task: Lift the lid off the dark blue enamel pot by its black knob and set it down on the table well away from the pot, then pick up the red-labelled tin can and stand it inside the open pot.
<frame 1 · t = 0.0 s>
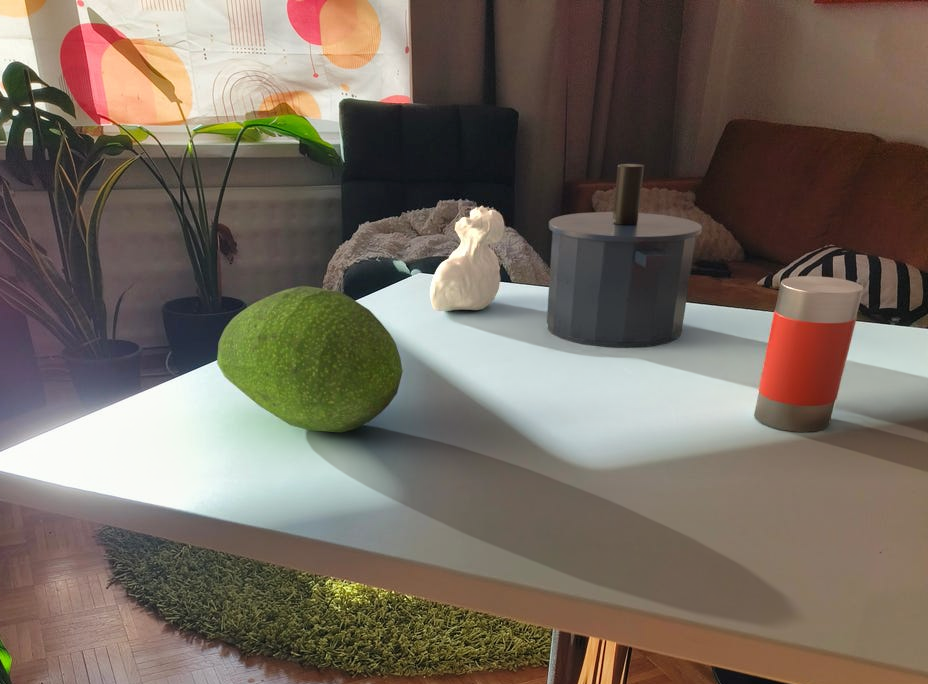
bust: (469, 309, 99), on the table
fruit: (310, 425, 68), on the table
can: (791, 419, 69), on the table
pot: (613, 328, 92), on the table
lid: (624, 229, 86), point 9 cm above the table, touching pot
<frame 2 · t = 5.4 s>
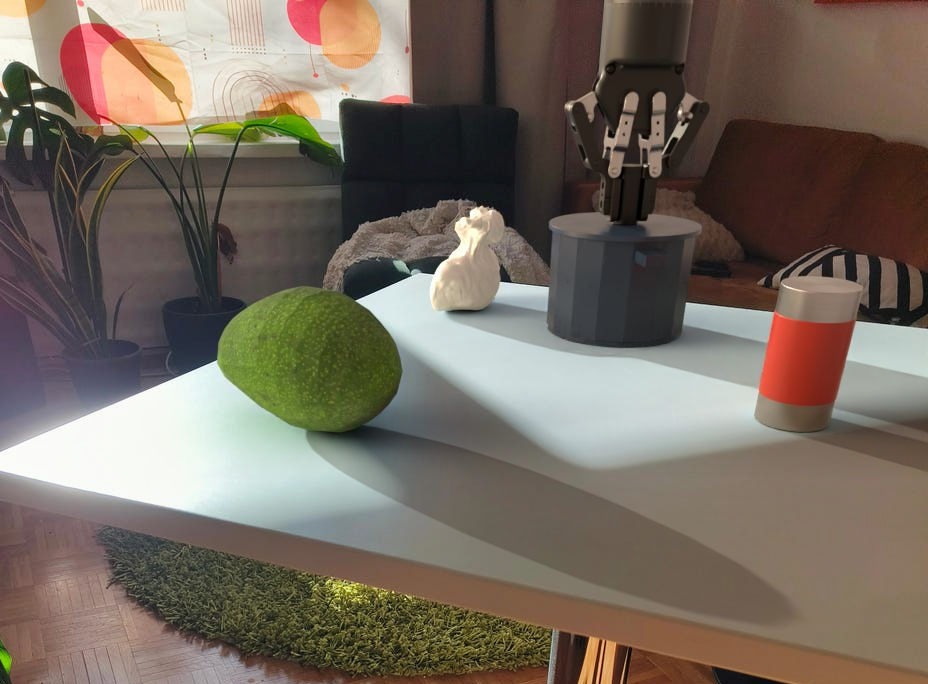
hand: (625, 219, 86), 10 cm above the table, tool pointing down, fingers closed on lid, 2 cm apart
lid: (624, 229, 86), point 9 cm above the table, touching gripper, pot
everything else where it was.
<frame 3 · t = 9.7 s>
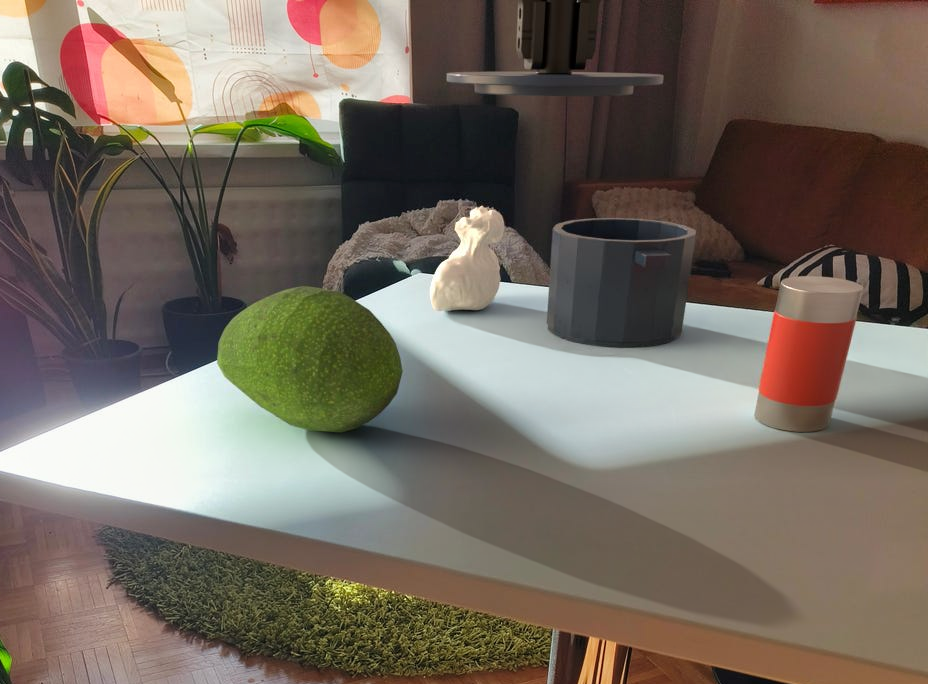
hand: (555, 67, 60), 23 cm above the table, tool pointing down, fingers closed on lid, 2 cm apart
lid: (553, 82, 61), point 22 cm above the table, touching gripper
everything else where it was.
when the fingers open (1 cm above the table, at t = 14.5 s): lid stays where it is, point 1 cm above the table.
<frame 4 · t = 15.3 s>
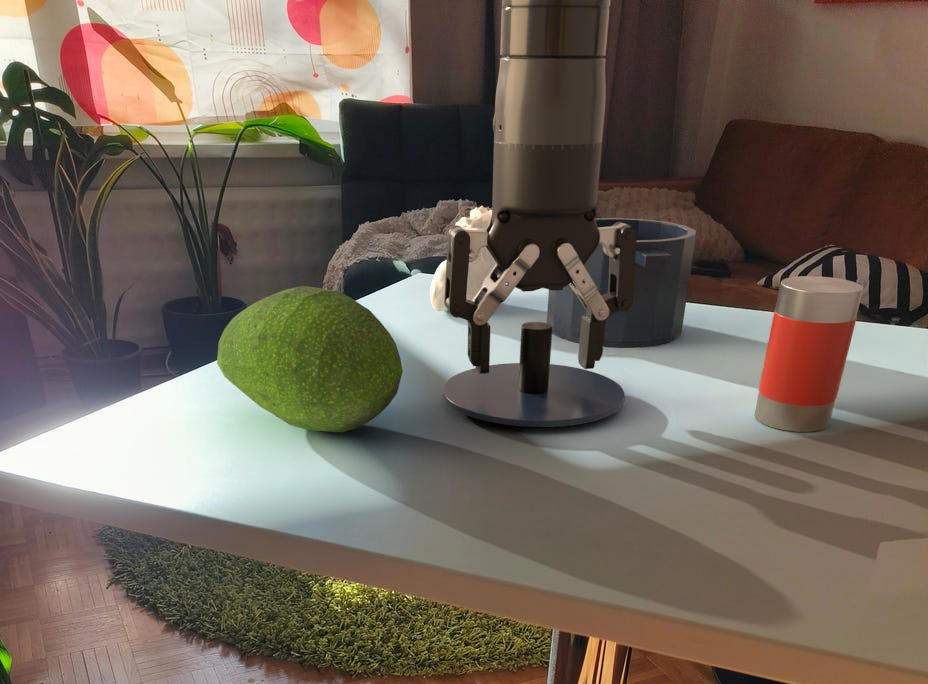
hand: (534, 368, 71), 3 cm above the table, tool pointing down, fingers open, 8 cm apart
lid: (532, 395, 72), point 1 cm above the table
everything else where it was.
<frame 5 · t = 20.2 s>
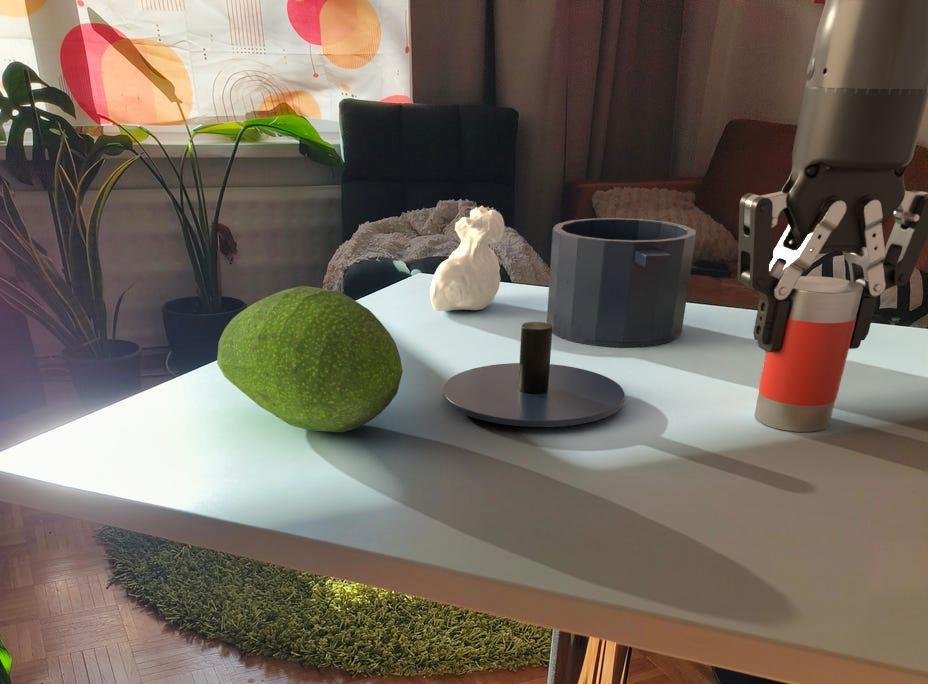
hand: (807, 347, 66), 6 cm above the table, tool pointing down, fingers closed on can, 5 cm apart
can: (791, 419, 69), on the table, touching gripper
everything else where it was.
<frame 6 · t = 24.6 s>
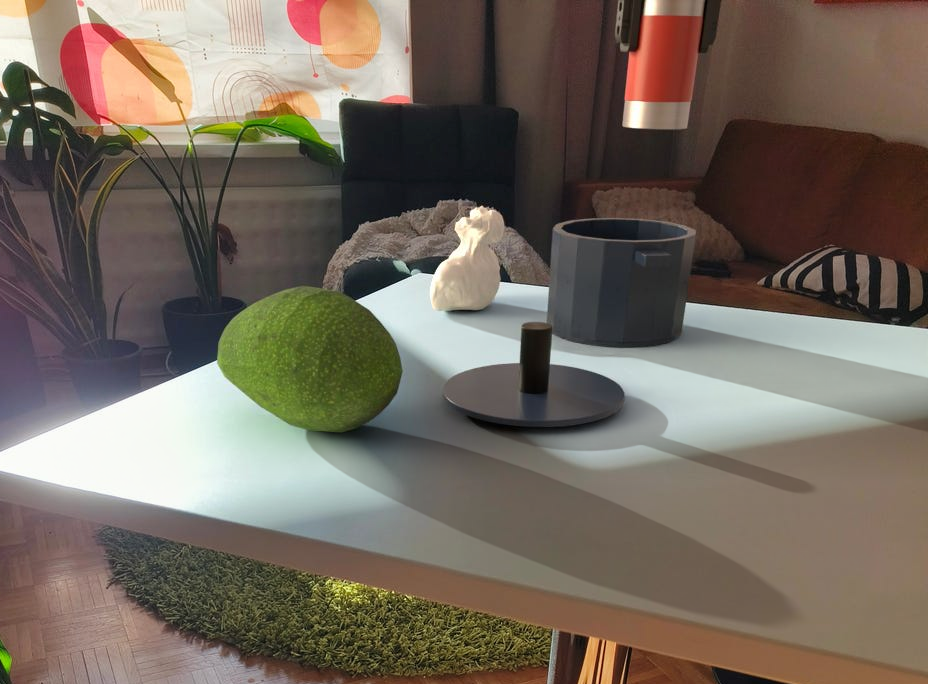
hand: (663, 51, 75), 24 cm above the table, tool pointing down, fingers closed on can, 5 cm apart
can: (654, 127, 78), point 18 cm above the table, touching gripper
everything else where it was.
when the fingers open (6 cm above the table, at t = 29.8 s): can stays where it is, resting on pot.
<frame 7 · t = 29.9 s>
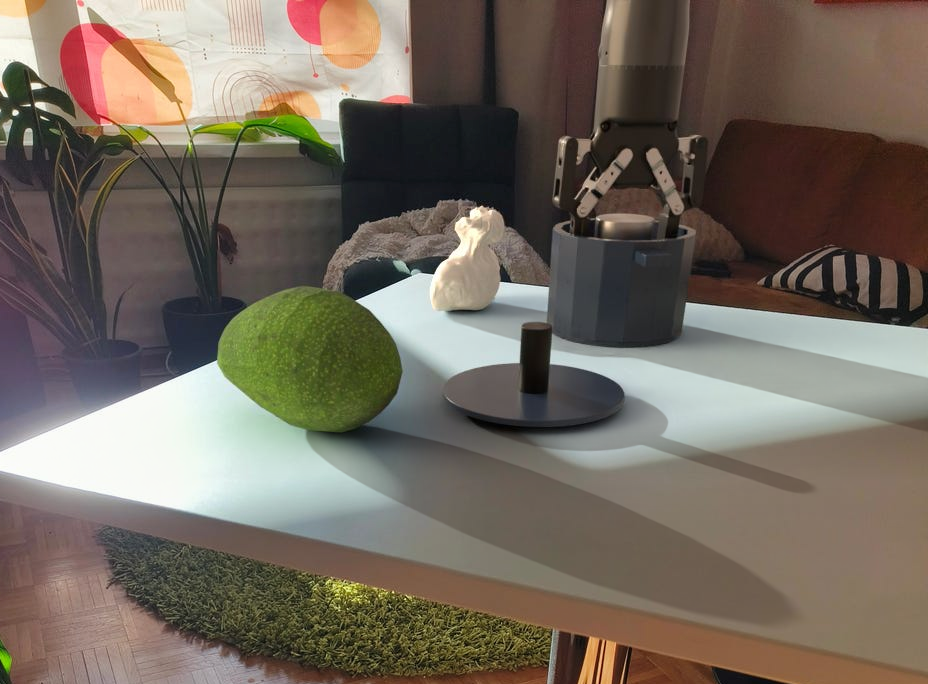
hand: (621, 256, 88), 7 cm above the table, tool pointing down, fingers open, 8 cm apart
can: (614, 324, 91), resting on pot
everything else where it was.
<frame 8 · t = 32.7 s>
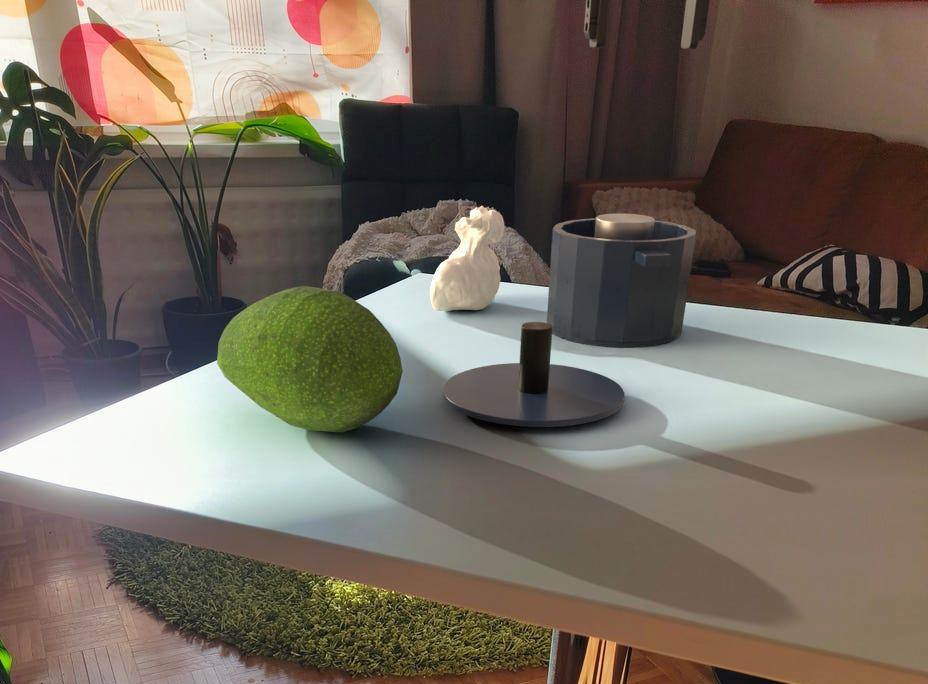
hand: (643, 48, 78), 24 cm above the table, tool pointing down, fingers open, 8 cm apart
nothing on the table moved.
at the end: lid inside the target area (0.0 cm from its centre), point 0.6 cm above the table; can inside the target area in the pot (0.1 cm from its centre), point 0.4 cm above the pot's base; can tilted 0° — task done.
